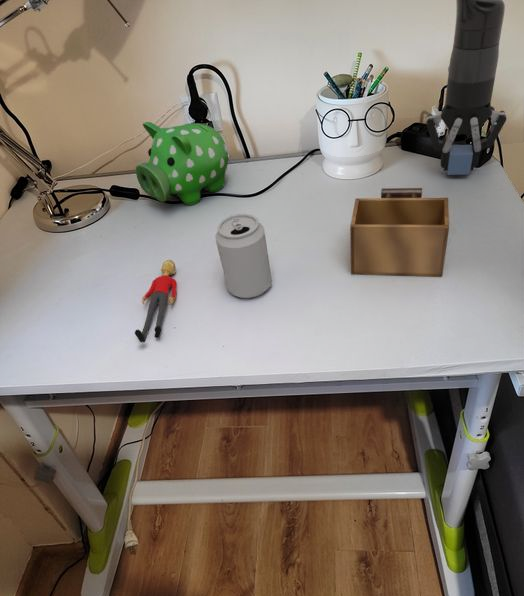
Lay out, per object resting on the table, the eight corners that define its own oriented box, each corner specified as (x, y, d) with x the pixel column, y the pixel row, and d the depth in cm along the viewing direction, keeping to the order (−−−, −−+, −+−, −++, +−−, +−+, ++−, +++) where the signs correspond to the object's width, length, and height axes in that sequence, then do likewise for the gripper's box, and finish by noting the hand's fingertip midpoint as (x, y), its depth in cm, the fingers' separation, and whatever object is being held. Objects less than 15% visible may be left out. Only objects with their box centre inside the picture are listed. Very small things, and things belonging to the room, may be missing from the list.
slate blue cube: (468, 164, 99) (471, 144, 96) (469, 174, 96) (472, 154, 93) (447, 165, 100) (449, 145, 97) (447, 175, 97) (449, 154, 94)
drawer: (442, 277, 78) (441, 230, 87) (449, 227, 72) (447, 181, 80) (350, 274, 82) (358, 229, 90) (350, 226, 76) (358, 183, 84)
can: (233, 306, 80) (218, 243, 72) (223, 279, 86) (208, 217, 77) (278, 293, 81) (268, 229, 73) (265, 267, 86) (255, 205, 78)
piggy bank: (140, 201, 109) (116, 132, 98) (206, 167, 116) (191, 98, 105) (178, 223, 100) (156, 150, 90) (246, 184, 107) (234, 112, 97)
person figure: (129, 321, 75) (155, 249, 87) (129, 339, 77) (155, 267, 90) (164, 327, 75) (185, 254, 87) (163, 345, 78) (183, 272, 90)
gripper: (427, 83, 85) (419, 179, 97) (520, 77, 81) (500, 177, 93) (427, 68, 90) (420, 160, 102) (515, 61, 86) (496, 158, 98)
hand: (458, 168), depth 98 cm, fingers closed on slate blue cube, 4 cm apart
